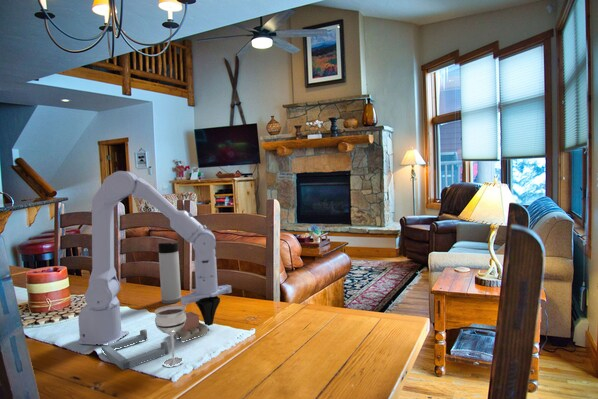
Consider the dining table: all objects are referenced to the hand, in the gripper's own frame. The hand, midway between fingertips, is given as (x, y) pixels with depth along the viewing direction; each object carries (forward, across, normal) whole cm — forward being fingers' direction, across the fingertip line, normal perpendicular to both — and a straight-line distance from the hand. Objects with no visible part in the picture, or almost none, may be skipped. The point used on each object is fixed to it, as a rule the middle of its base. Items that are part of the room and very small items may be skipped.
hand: (208, 324), depth 110 cm
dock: (+1, -20, 0) cm, 20 cm away
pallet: (+1, -6, 0) cm, 6 cm away
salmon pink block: (-1, -6, 0) cm, 6 cm away
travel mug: (+1, +5, +30) cm, 31 cm away
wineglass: (+1, -16, -12) cm, 20 cm away
